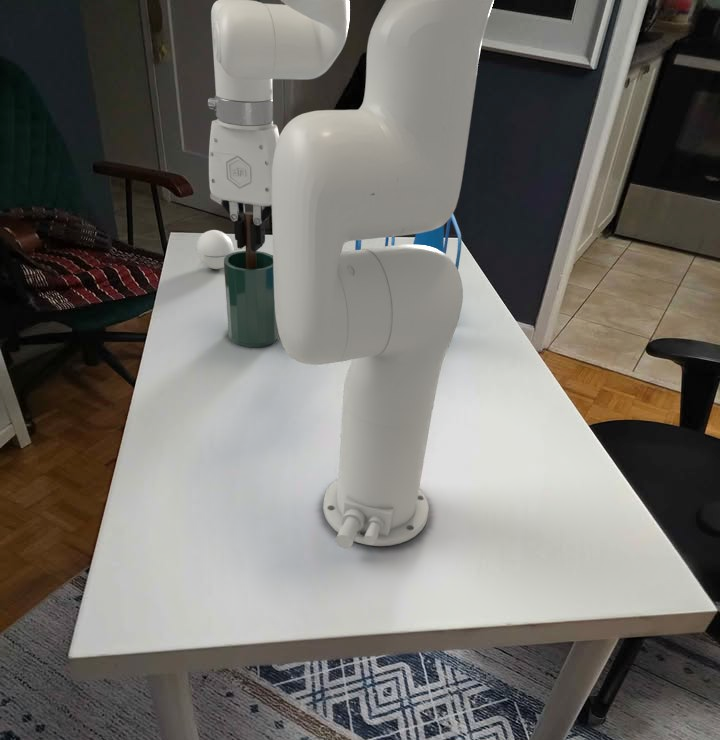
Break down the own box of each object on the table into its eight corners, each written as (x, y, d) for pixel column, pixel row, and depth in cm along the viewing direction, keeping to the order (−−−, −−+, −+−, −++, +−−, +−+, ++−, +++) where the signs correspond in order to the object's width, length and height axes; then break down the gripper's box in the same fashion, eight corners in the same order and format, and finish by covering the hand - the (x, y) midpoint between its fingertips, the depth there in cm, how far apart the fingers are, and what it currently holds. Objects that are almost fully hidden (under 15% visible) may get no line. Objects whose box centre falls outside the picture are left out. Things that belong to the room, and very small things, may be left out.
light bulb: (195, 274, 127) (191, 236, 123) (201, 260, 133) (197, 223, 128) (246, 277, 128) (244, 239, 123) (250, 262, 134) (248, 226, 129)
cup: (266, 351, 106) (264, 274, 97) (220, 341, 107) (214, 264, 99) (285, 330, 112) (284, 255, 104) (241, 321, 113) (237, 247, 105)
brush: (260, 331, 106) (256, 219, 95) (237, 326, 107) (231, 214, 96) (269, 321, 109) (267, 211, 98) (247, 316, 110) (242, 207, 99)
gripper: (179, 109, 87) (192, 246, 98) (289, 125, 84) (289, 264, 96) (205, 100, 92) (214, 231, 104) (308, 115, 90) (306, 247, 101)
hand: (250, 246), depth 100 cm, fingers closed on brush
